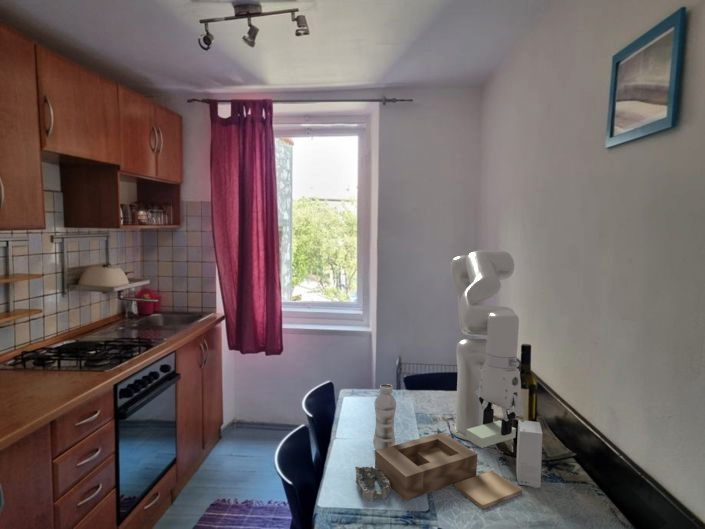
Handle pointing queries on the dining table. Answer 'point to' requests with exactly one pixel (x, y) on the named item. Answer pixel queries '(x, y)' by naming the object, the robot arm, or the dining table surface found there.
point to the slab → (488, 434)
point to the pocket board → (425, 465)
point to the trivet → (487, 489)
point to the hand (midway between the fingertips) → (496, 428)
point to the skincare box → (529, 453)
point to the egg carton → (372, 482)
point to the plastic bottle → (384, 418)
